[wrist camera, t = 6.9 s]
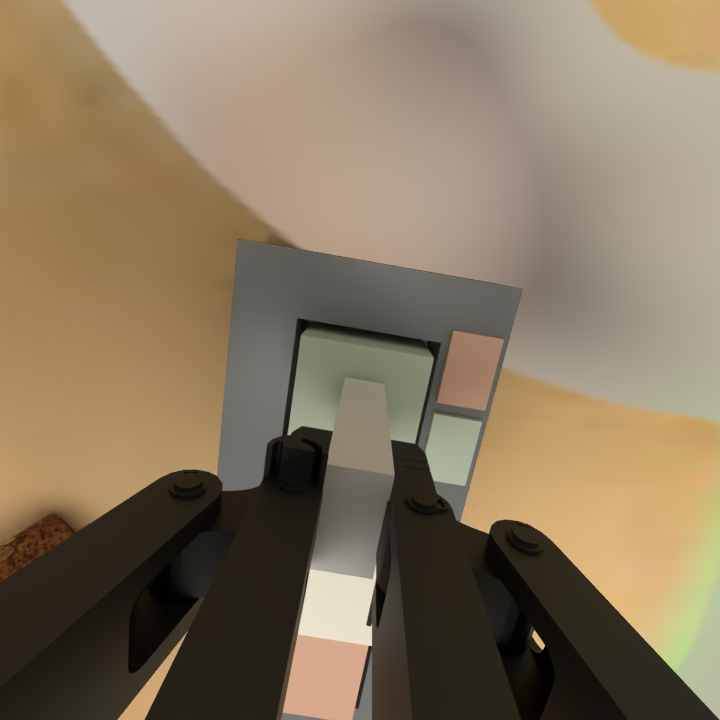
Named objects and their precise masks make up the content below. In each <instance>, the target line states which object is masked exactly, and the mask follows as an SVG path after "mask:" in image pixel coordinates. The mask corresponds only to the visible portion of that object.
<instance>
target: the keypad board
mask: <svg viewBox="0 0 720 720" xmlns="http://www.w3.org/2000/svg"><path fill="white" fill-rule="evenodd" d="M521 293H522V289H521V288H516V287H510V286H505V285H500V284H495V283H489V282H484V281H478V280H472V279H467V278H461V277H455V276H450V275H444V274H438V273H433V272H427V271H421V270H415V269H410V268H404V267H398V266H393V265H387V264H381V263H376V262H370V261H364V260H358V259H353V258H347V257H341V256H335V255H330V254H324V253H318V252H312V251H307V250H301V249H296V248H290V247H284V246H279V245H273V244H267V243H261V242H254V241H248V240H241V239H238V246H237V258H236V269H235V280H234V291H233V303H232V314H231V325H230V337H229V348H228V359H227V371H226V382H225V393H224V404H223V416H222V427H221V438H220V450H219V461H218V472H217V476H218V478H219V479H220V480H221V481H222V483H223V490H222V491H234V490H246V489H251V488H255V487H258V486H259V485H260V483H261V481H262V479H263V474H264V466H265V457H266V449H267V444H268V443H269V442H270V441H271V440H272V439H274V438H277V437H280V436H286V435H288V428H289V421H290V413H291V406H292V398H293V391H294V384H295V376H296V369H297V361H298V354H299V346H300V339H301V335H302V334H303V332H304V331H305V330H306V329H307V328H308V327H309V326H310V325H311V324H312V322H313V321H317V322H323V323H329V324H334V325H340V326H346V327H352V328H358V329H363V330H369V331H375V332H381V333H387V334H393V335H398V336H404V337H410V338H416V339H422V340H423V342H424V343H425V345H426V346H427V348H428V350H429V351H430V353H431V354H432V356H433V357H434V360H433V365H432V369H431V374H430V378H429V383H428V387H427V392H426V396H425V401H424V405H423V410H422V414H421V419H420V423H419V427H418V432H417V436H416V441H415V444H417V445H418V446H419V447H420V448H421V449H422V450H423V451H424V452H425V453H426V457H427V460H428V464H429V467H430V472H431V474H432V478H433V481H434V485H435V488H436V492H437V494H438V495H440V496H441V497H443V498H444V499H445V500H446V501H447V502H448V503H449V504H450V506H451V507H452V509H453V512H454V515H455V518H456V520H457V521H459V522H460V520H461V516H462V512H463V509H464V505H465V501H466V497H467V494H468V490H469V486H470V483H471V479H472V475H473V471H474V468H475V464H476V460H477V457H478V453H479V449H480V445H481V442H482V438H483V434H484V431H485V427H486V423H487V419H488V416H489V412H490V408H491V405H492V401H493V397H494V393H495V390H496V386H497V382H498V379H499V375H500V371H501V368H502V364H503V360H504V356H505V352H506V349H507V345H508V342H509V338H510V334H511V330H512V327H513V323H514V319H515V315H516V312H517V308H518V304H519V301H520V297H521ZM281 720H328V719H321V718H315V717H308V716H302V715H295V714H289V713H283V714H282V719H281ZM352 720H372V646H368V651H367V655H366V660H365V664H364V669H363V673H362V678H361V682H360V687H359V691H358V696H357V700H356V705H355V709H354V714H353V718H352Z"/></svg>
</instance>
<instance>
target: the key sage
mask: <svg viewBox="0 0 720 720" xmlns="http://www.w3.org/2000/svg"><path fill="white" fill-rule="evenodd" d="M433 360H434V357H433V356H432V354H431V353H430V351H429V350H428V348H427V346H426V345H425V343H424V342H423V340H422V339H416V338H410V337H404V336H398V335H393V334H387V333H381V332H375V331H369V330H363V329H358V328H352V327H346V326H340V325H334V324H329V323H323V322H317V321H313V322H312V324H311V325H310V326H309V327H308V328H307V329H306V330H305V331H304V332H303V334H302V335H301V339H300V346H299V354H298V361H297V369H296V376H295V384H294V391H293V398H292V406H291V413H290V421H289V428H288V435H291V433H292V432H293V431H294V430H296V429H298V428H299V427H301V426H306V427H312V428H317V429H323V430H329V431H333V430H334V425H335V421H336V416H337V412H338V407H339V403H340V398H341V394H342V389H343V385H344V380H345V377H348V378H354V379H359V380H365V381H371V382H377V383H383V384H385V392H386V401H387V410H388V419H389V428H390V437H391V440H396V441H402V442H408V443H414V444H415V441H416V436H417V432H418V427H419V423H420V419H421V414H422V410H423V405H424V401H425V396H426V392H427V387H428V383H429V378H430V374H431V369H432V365H433Z"/></svg>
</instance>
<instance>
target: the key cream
mask: <svg viewBox="0 0 720 720" xmlns="http://www.w3.org/2000/svg"><path fill="white" fill-rule="evenodd" d="M375 581H376V566H375V570H374V575H373V579H368V578H362V577H356V576H350V575H343V574H337V573H331V572H325V571H319V570H313V569H310V571H309V577H308V583H307V589H306V594H305V599H304V604H303V610H302V615H301V620H300V625H299V630H298V635H304V636H310V637H317V638H323V639H330V640H336V641H342V642H349V643H355V644H362V645H368V646H372V624H371V626H366V623H367V618H368V614H369V609H370V604H371V600H372V595H373V591H374V586H375Z"/></svg>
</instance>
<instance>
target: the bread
mask: <svg viewBox="0 0 720 720" xmlns="http://www.w3.org/2000/svg"><path fill="white" fill-rule="evenodd" d="M73 534H74V533H73V531H72V530H71V528H70V527H69V526H68V524H67V523H66V522H63V521H60V519H59V518H58V517H57V515H54V516H48V517H44V518H42V519H40V520H39V521H37V522H36V523H34V524H33V525H31V526H30V527H28V528H27V529H25V530H24V531H22V532H20V533H19V534H17V535H16V536H14V537H12V538H11V539H9V540H7V541H6V542H4V543H3V544H1V545H0V582H1V581H3V580H4V579H6V578H7V577H9V576H10V575H12V574H14V573H15V572H17V571H18V570H20V569H21V568H23V567H24V566H26V565H27V564H29V563H30V562H32V561H33V560H35V559H37V558H38V557H40V556H41V555H43V554H44V553H46V552H47V551H49V550H50V549H52V548H53V547H55V546H57V545H58V544H60V543H61V542H63V541H64V540H66V539H67V538H69V537H70V536H72V535H73Z"/></svg>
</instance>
